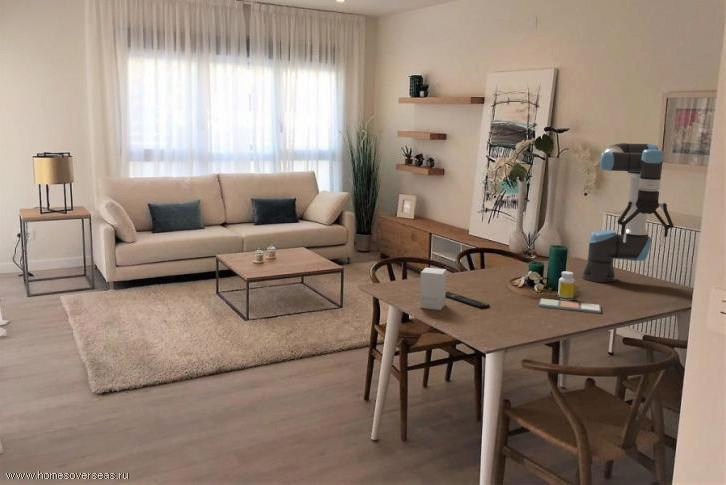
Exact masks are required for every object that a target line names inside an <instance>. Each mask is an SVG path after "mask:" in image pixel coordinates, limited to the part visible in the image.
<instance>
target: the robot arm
mask: <svg viewBox="0 0 726 485" xmlns="http://www.w3.org/2000/svg"><path fill="white" fill-rule="evenodd" d="M663 162H664V151H663V150H662V149H661V150H660V149H659V146H658V145H656V144H654V143H653V144H652V143H651V144H650V143H626V142H625V143H623V142H620V143H616V144H612V145H611V144H610V145H609V146H607V147H605V148H604V150H602V153H601V155H600V165H599V168H600V170H601V171H607V172H610V171H611V172H627V174H628V175H629V176H630V180H629V190H628V199H627V200H628V201H627V206H626V208H625V209H624V210H623V212H622V214H620V216H619V218H618V219H617V224H618V225H620V226H621V229H620V230H621V232H620V234H618V233H617V231H616V230H610V229H603V230H602V229H601V230H595V231H593V232H591V233H590V236H589V241H588V243H589V244H588V252H587V260H586V264H585V266H584V268H583V270H582V273H581V274H582V275H581V278H582V279H584V280H587V281H590V282H594V283H595V282H596V283H613V282H615V281H616V280H617V276H616V270H615V267H614V260H626V261H634V262H637V261H638V262H643V261H645V260H646V259H647V257H648V255H649V251H650V249H651V242H652V238H651V236H649V232H648V230H646V224H647V215H652V214H654V216H655V217H656V219H657V220H658V221H659V222H660V224H661V225H662V226H663V227H662V228H661V233H660V234H661V236H660V243H659V245H660V246H662V247H663V246H664V240H665V238H667V237H668V235H669V234H668V233H669V229H674V227H675V226H674V223H673V221H672V218H671V216H670V213H669V211H668V204H667V203H666V202H663V203H659V196H660V191H659V190H660V189H661V178H662V171H663V164H664V163H663ZM658 208H660V209H662V211H663V213H664V216H665V217H666V220H667V222H668V224H667V223H666V222H665V220H664V219H663V218H662V216H661V215H660V214H659V213H658V211H657V209H658ZM625 217H626V219H625ZM624 219H625V220H624ZM623 220H624V221H623Z"/></svg>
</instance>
